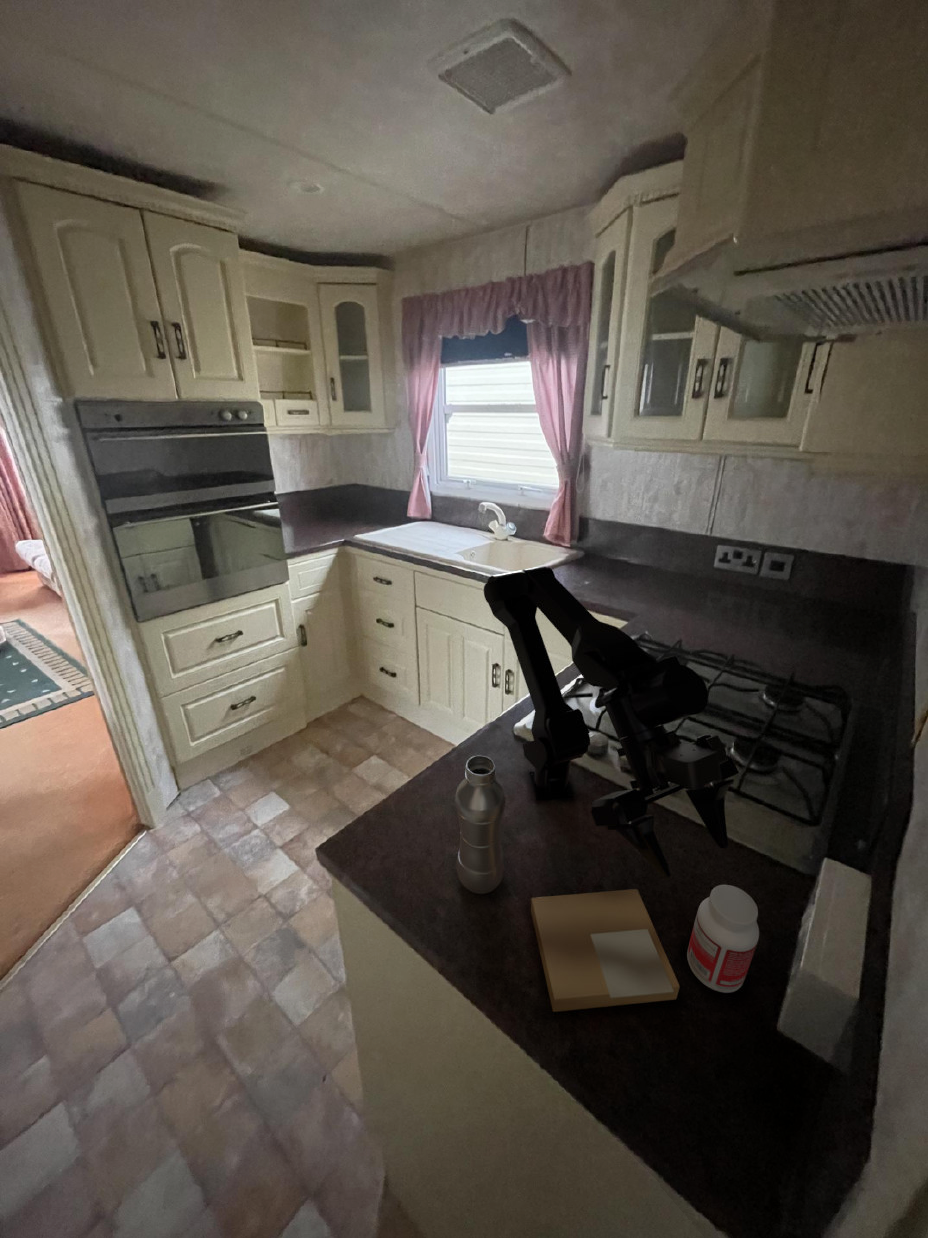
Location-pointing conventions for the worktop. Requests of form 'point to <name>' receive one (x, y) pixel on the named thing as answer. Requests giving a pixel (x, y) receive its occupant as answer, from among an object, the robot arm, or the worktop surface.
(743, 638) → the worktop surface
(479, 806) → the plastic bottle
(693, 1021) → the worktop surface
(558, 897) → the labeled cardboard parcel
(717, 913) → the pill bottle
